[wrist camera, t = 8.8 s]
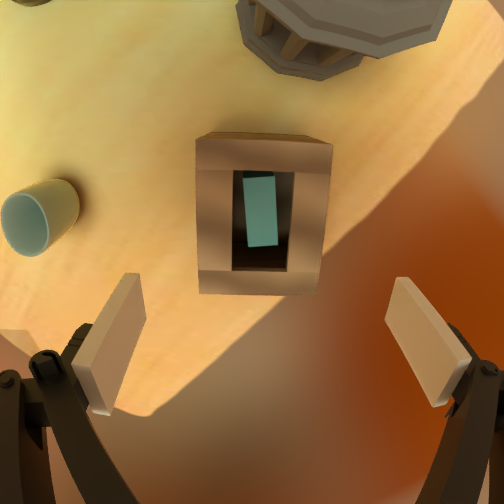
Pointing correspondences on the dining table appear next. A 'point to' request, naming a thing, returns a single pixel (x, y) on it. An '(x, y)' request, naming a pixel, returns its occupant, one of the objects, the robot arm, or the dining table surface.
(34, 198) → the cup
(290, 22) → the lantern
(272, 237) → the block
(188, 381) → the dining table surface
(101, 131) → the dining table surface
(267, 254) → the coin box
